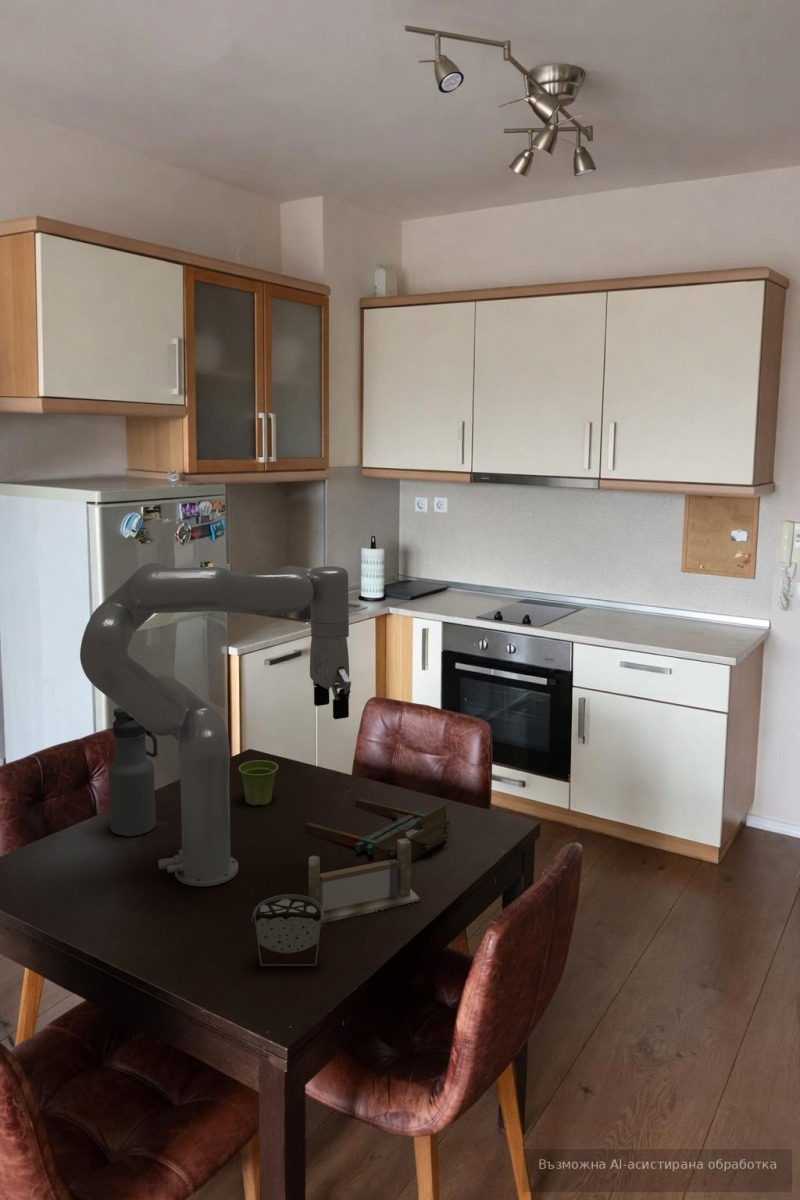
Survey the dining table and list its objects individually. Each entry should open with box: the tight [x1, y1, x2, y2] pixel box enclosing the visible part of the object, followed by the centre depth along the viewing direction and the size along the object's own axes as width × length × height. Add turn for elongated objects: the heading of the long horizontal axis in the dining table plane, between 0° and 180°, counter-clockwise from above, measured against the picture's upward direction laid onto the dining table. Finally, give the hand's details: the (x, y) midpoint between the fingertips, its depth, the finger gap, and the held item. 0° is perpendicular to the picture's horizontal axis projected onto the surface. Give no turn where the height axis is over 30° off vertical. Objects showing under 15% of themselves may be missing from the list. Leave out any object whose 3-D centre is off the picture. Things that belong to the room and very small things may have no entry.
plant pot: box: [238, 759, 279, 806], centre depth 222 cm, size 9×9×9 cm
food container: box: [250, 894, 325, 967], centre depth 157 cm, size 12×6×10 cm, turn 92°
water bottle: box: [107, 707, 158, 837], centre depth 204 cm, size 10×10×28 cm
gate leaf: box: [320, 858, 398, 911], centre depth 173 cm, size 15×2×7 cm, turn 115°
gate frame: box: [308, 838, 421, 925], centre depth 173 cm, size 24×5×12 cm, turn 115°
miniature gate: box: [304, 797, 451, 863], centre depth 205 cm, size 27×6×30 cm
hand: (331, 711), depth 187 cm, fingers open, 9 cm apart
